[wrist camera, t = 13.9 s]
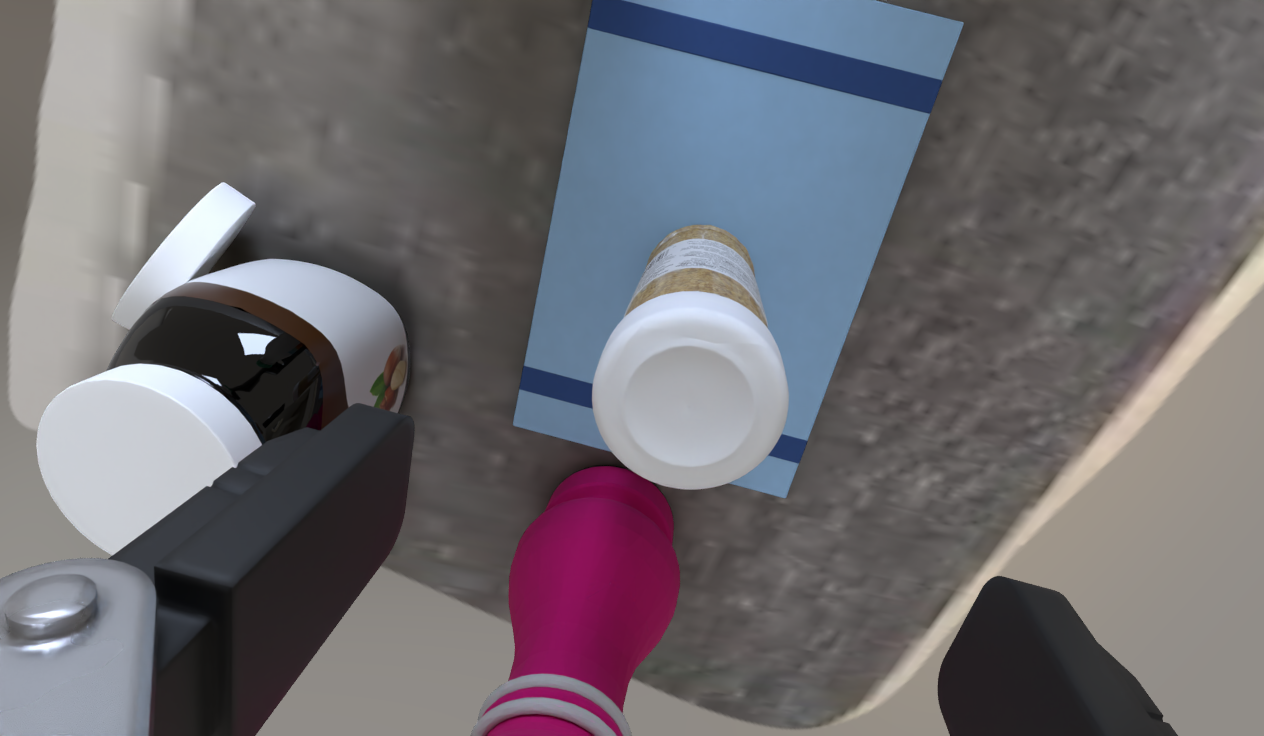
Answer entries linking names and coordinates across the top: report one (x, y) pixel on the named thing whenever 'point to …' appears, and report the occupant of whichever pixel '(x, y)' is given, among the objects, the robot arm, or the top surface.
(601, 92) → the towel
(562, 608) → the pepper mill
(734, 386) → the sprinkles bottle
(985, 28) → the top surface
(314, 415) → the spread jar
